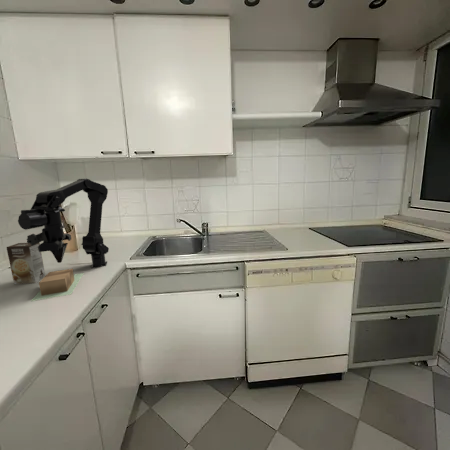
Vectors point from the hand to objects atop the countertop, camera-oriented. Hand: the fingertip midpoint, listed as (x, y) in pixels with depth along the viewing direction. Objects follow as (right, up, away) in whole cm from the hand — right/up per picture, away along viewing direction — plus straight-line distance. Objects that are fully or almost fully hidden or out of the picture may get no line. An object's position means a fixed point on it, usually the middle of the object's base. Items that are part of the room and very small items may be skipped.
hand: (59, 262), depth 95 cm
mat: (+2, -9, -2) cm, 9 cm away
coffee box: (-15, -9, +5) cm, 18 cm away
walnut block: (0, -6, +1) cm, 6 cm away
